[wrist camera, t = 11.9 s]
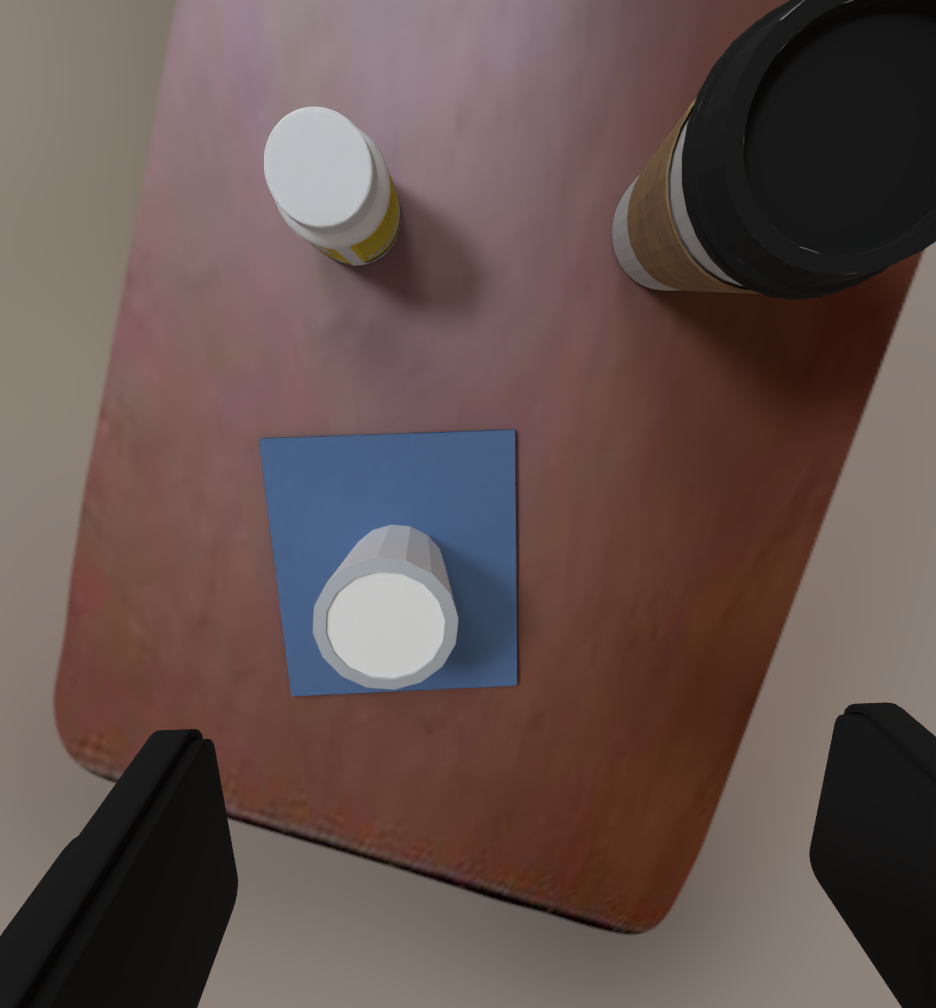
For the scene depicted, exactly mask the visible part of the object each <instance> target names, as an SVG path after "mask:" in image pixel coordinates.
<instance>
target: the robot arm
mask: <svg viewBox="0 0 936 1008" xmlns="http://www.w3.org/2000/svg"><path fill="white" fill-rule="evenodd" d="M810 863H811V866H812V869H813V872H814V874H815V876H816V878H817V880H818V882H819V883H820V885H821V886H822V888H823V889H824V891H825V892H826V894H827V895H828V897H829V898H830V900H831V901H832V903H833V904H834V906H835V907H836V909H837V910H838V912H839V913H840V915H841V916H842V918H843V919H844V921H845V922H846V924H847V925H848V927H849V928H850V930H851V931H852V933H853V934H854V936H855V938H856V939H857V941H858V942H859V943H860V945H861V947H862V948H863V950H864V951H865V953H866V954H867V955H868V957H869V959H870V960H871V962H872V963H873V965H874V966H875V968H876V969H877V971H878V972H879V974H880V975H881V977H882V978H883V980H884V981H885V983H886V984H887V986H888V987H889V989H890V990H891V992H892V993H893V995H894V996H895V998H896V999H897V1001H898V1002H899V1004H900V1005H901V1007H902V1008H936V737H935V736H934V735H933V734H932V733H931V732H929V731H928V730H927V729H926V728H925V727H924V726H922V725H921V724H920V723H919V722H918V721H916V720H915V719H914V718H913V717H911V715H909V714H908V713H907V712H906V711H905V710H904V709H902V708H901V707H899V706H898V705H896V704H893V703H864V704H852V705H849V706H848V707H847V708H846V709H845V712H844V714H843V715H839V717H838V718H837V719H836V722H835V725H834V730H833V735H832V740H831V745H830V750H829V755H828V760H827V765H826V770H825V776H824V780H823V786H822V790H821V795H820V800H819V806H818V811H817V816H816V821H815V826H814V831H813V836H812V841H811V846H810ZM237 889H238V876H237V870H236V865H235V859H234V854H233V848H232V842H231V836H230V831H229V825H228V820H227V814H226V808H225V803H224V797H223V792H222V786H221V780H220V775H219V769H218V764H217V758H216V752H215V747H214V744H213V742H212V740H210V739H203V737H202V734H201V733H200V731H199V730H196V729H185V730H159V731H156V732H154V733H153V734H152V735H151V736H150V737H149V738H148V740H147V741H146V743H145V744H144V745H143V747H142V748H141V750H140V751H139V752H138V754H137V755H136V757H135V758H134V759H133V761H132V762H131V764H130V765H129V766H128V768H127V769H126V770H125V772H124V773H123V775H122V776H121V777H120V779H119V780H118V782H117V783H116V784H115V786H114V787H113V789H112V790H111V791H110V793H109V794H108V795H107V797H106V798H105V800H104V801H103V802H102V804H101V805H100V807H99V808H98V809H97V811H96V812H95V814H94V815H93V816H92V818H91V819H90V821H89V822H88V823H87V825H86V826H85V827H84V829H83V830H82V832H81V833H80V835H79V836H78V837H76V838H74V839H73V840H72V841H71V842H70V843H69V844H68V845H67V846H66V847H65V849H64V850H63V851H62V852H61V854H60V855H59V856H58V858H57V859H56V860H55V862H54V863H53V864H52V866H51V867H50V869H49V870H48V871H47V873H46V874H45V876H44V877H43V878H42V880H41V881H40V882H39V884H38V885H37V886H36V888H35V889H34V891H33V892H32V893H31V895H30V896H29V897H28V899H27V900H26V902H25V903H24V904H23V906H22V907H21V908H20V910H19V911H18V912H17V914H16V915H15V917H14V918H13V919H12V921H11V922H10V923H9V925H8V926H7V928H6V929H5V930H4V932H3V933H2V935H1V936H0V1008H197V1007H198V1004H199V1001H200V998H201V996H202V993H203V990H204V987H205V985H206V982H207V979H208V977H209V974H210V971H211V968H212V966H213V963H214V960H215V957H216V955H217V952H218V949H219V946H220V943H221V941H222V938H223V935H224V932H225V930H226V927H227V925H228V922H229V919H230V916H231V913H232V911H233V908H234V905H235V901H236V896H237Z"/></svg>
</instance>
